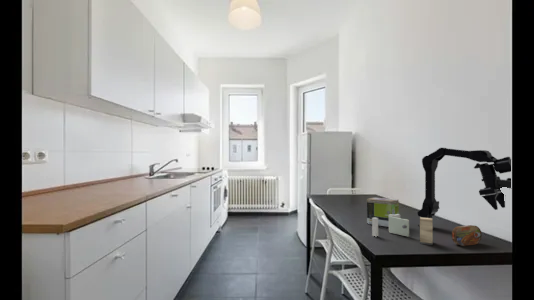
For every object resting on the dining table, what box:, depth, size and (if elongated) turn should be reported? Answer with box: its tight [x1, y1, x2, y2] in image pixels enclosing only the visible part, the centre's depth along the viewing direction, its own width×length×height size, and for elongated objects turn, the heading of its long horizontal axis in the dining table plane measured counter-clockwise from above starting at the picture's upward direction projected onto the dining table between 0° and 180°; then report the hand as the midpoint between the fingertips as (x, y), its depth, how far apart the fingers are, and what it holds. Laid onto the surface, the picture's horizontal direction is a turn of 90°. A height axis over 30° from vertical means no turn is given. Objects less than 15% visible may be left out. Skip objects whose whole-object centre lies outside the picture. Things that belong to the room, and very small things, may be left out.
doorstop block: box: [419, 216, 434, 246], centre depth 139 cm, size 5×5×11 cm
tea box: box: [366, 197, 400, 228], centre depth 175 cm, size 15×10×15 cm, turn 45°
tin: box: [451, 224, 482, 247], centre depth 137 cm, size 15×3×8 cm, turn 106°
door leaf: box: [388, 217, 410, 238], centre depth 152 cm, size 10×2×8 cm, turn 36°
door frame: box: [371, 213, 401, 238], centre depth 155 cm, size 22×2×9 cm, turn 126°
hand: (500, 208), depth 141 cm, fingers open, 9 cm apart
